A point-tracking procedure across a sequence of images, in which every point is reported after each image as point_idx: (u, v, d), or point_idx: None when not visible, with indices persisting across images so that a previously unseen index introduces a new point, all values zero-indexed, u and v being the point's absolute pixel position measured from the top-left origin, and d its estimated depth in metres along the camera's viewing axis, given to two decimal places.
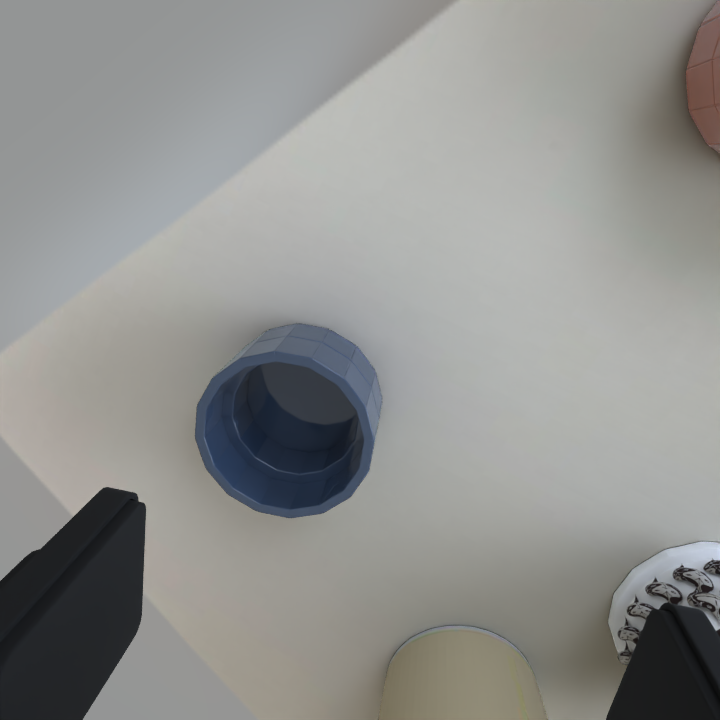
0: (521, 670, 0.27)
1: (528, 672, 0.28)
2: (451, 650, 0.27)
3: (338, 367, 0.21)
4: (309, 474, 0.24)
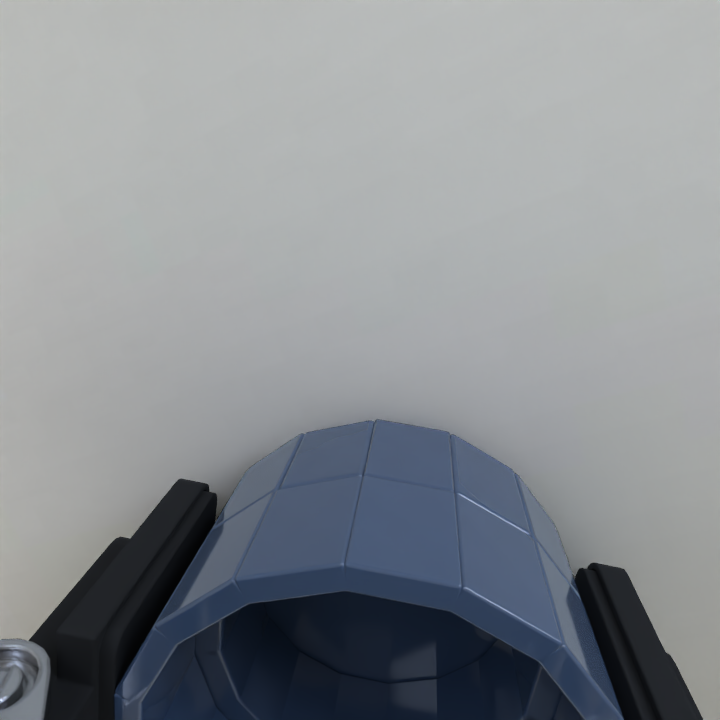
0: None
1: None
2: None
3: (325, 533, 0.07)
4: None
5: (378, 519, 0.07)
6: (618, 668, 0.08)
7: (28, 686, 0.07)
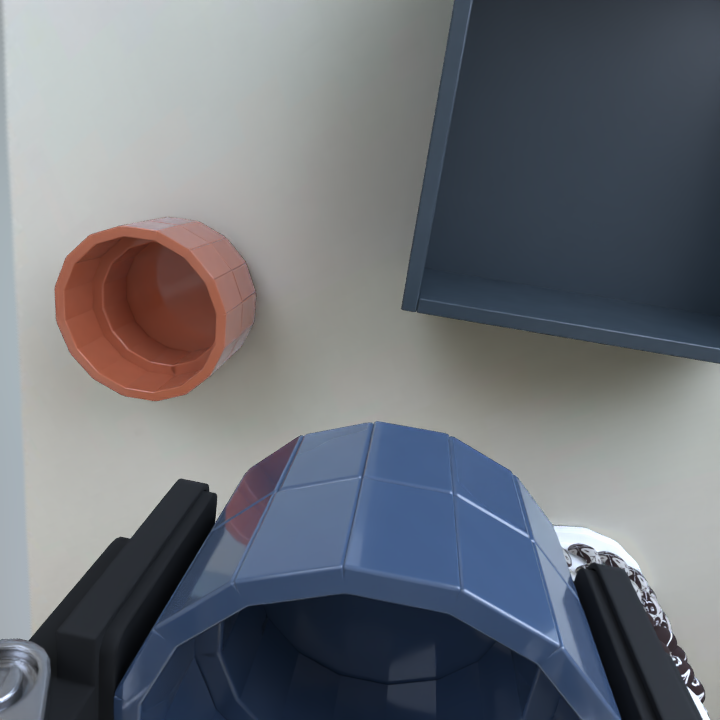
0: None
1: None
2: None
3: (323, 536, 0.07)
4: None
5: (377, 521, 0.07)
6: (618, 668, 0.08)
7: (28, 686, 0.07)
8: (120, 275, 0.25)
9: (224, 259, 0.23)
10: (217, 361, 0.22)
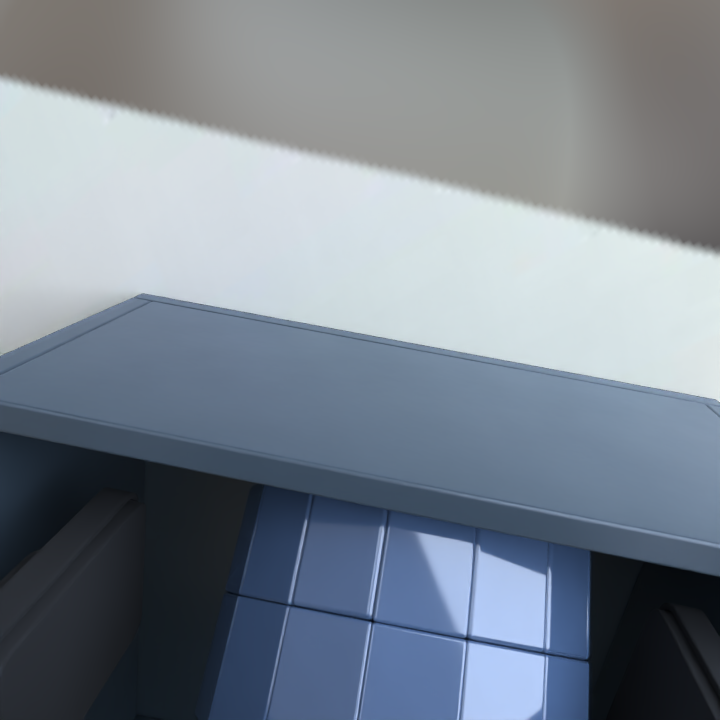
0: None
1: None
2: None
3: None
4: None
5: (382, 711, 0.08)
6: None
7: None
8: None
9: None
10: None
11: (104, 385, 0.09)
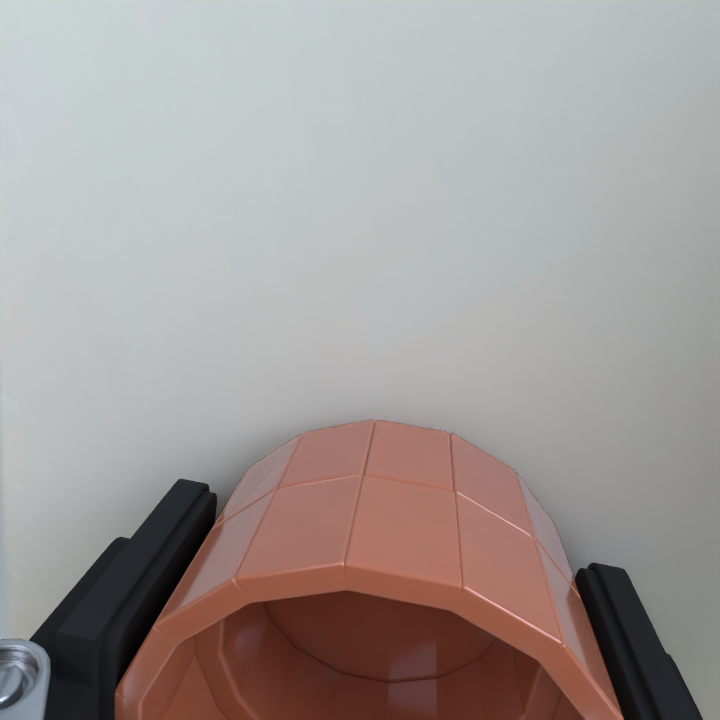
0: None
1: None
2: None
3: None
4: None
5: None
6: (618, 668, 0.08)
7: (28, 686, 0.07)
8: None
9: (563, 572, 0.09)
10: None
11: None
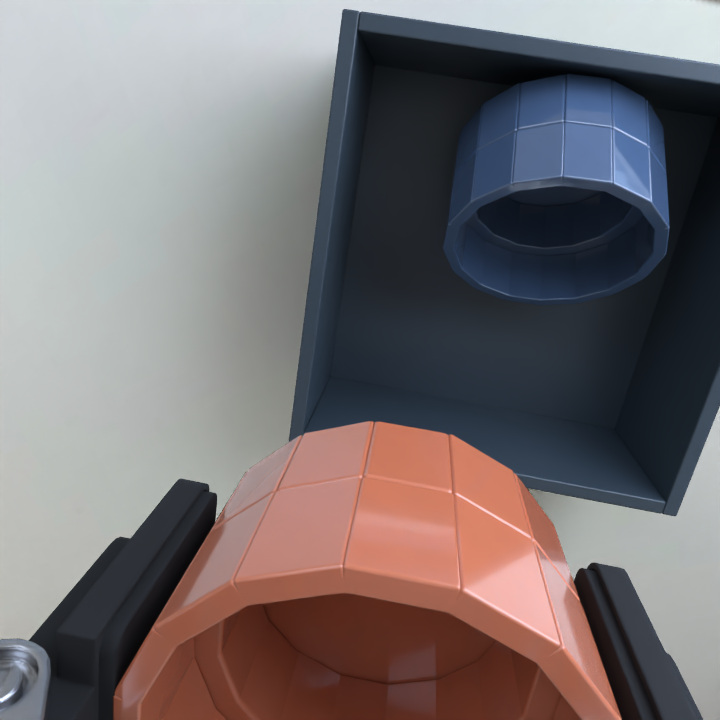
0: None
1: None
2: None
3: (550, 159, 0.16)
4: (611, 231, 0.20)
5: (575, 151, 0.16)
6: (618, 668, 0.08)
7: (28, 686, 0.07)
8: None
9: (562, 574, 0.09)
10: None
11: None
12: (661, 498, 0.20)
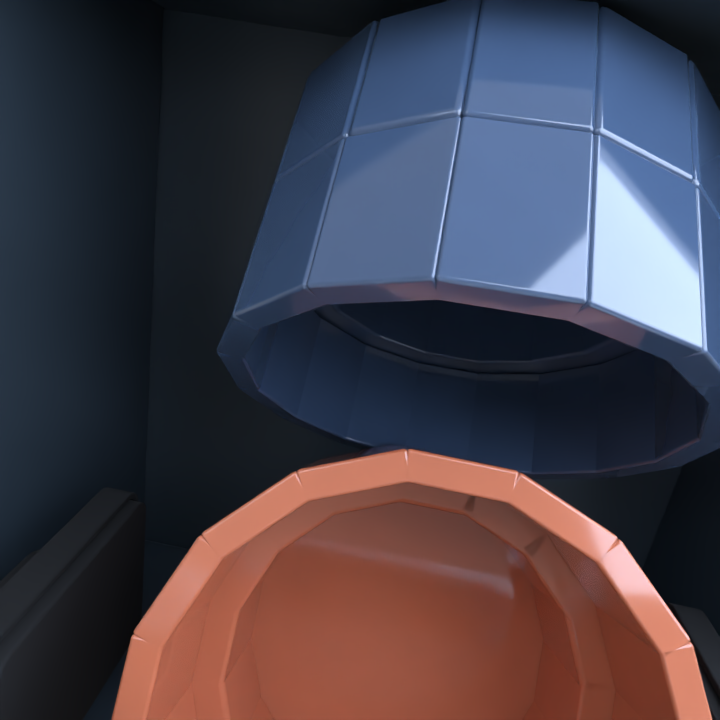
0: None
1: None
2: None
3: (410, 223, 0.06)
4: (606, 345, 0.10)
5: (481, 198, 0.05)
6: None
7: None
8: (263, 579, 0.10)
9: None
10: None
11: None
12: None
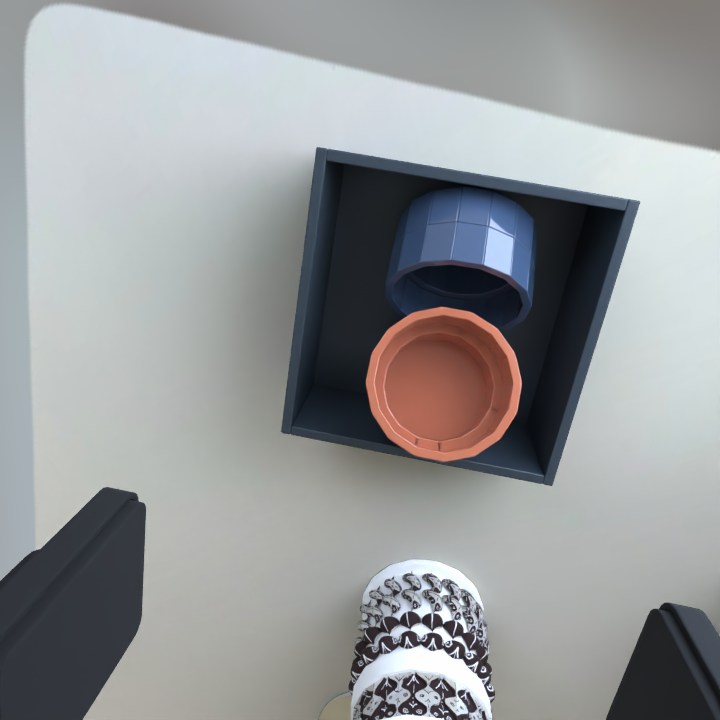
0: None
1: None
2: None
3: (445, 247, 0.25)
4: (506, 285, 0.29)
5: (461, 242, 0.25)
6: None
7: None
8: (390, 365, 0.29)
9: None
10: (508, 425, 0.25)
11: None
12: (542, 473, 0.29)
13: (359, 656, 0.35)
